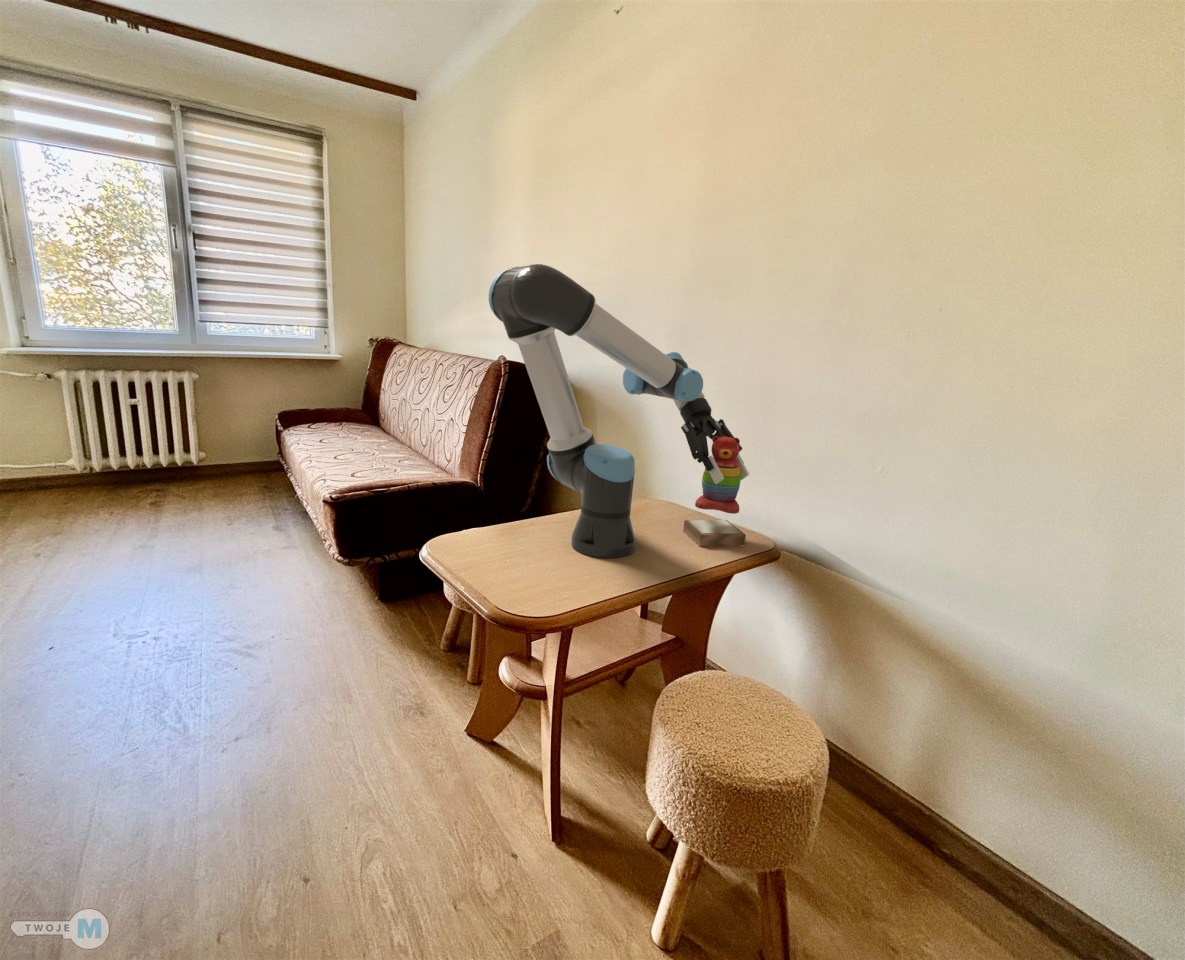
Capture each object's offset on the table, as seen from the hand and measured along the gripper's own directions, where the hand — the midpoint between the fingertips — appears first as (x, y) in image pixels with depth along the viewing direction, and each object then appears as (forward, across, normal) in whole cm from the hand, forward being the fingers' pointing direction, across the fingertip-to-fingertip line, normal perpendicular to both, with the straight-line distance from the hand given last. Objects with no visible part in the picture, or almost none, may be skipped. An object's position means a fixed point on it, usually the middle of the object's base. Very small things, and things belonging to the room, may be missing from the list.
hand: (732, 479), depth 134 cm
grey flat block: (+9, +1, -14) cm, 17 cm away
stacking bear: (+3, 0, -8) cm, 9 cm away
